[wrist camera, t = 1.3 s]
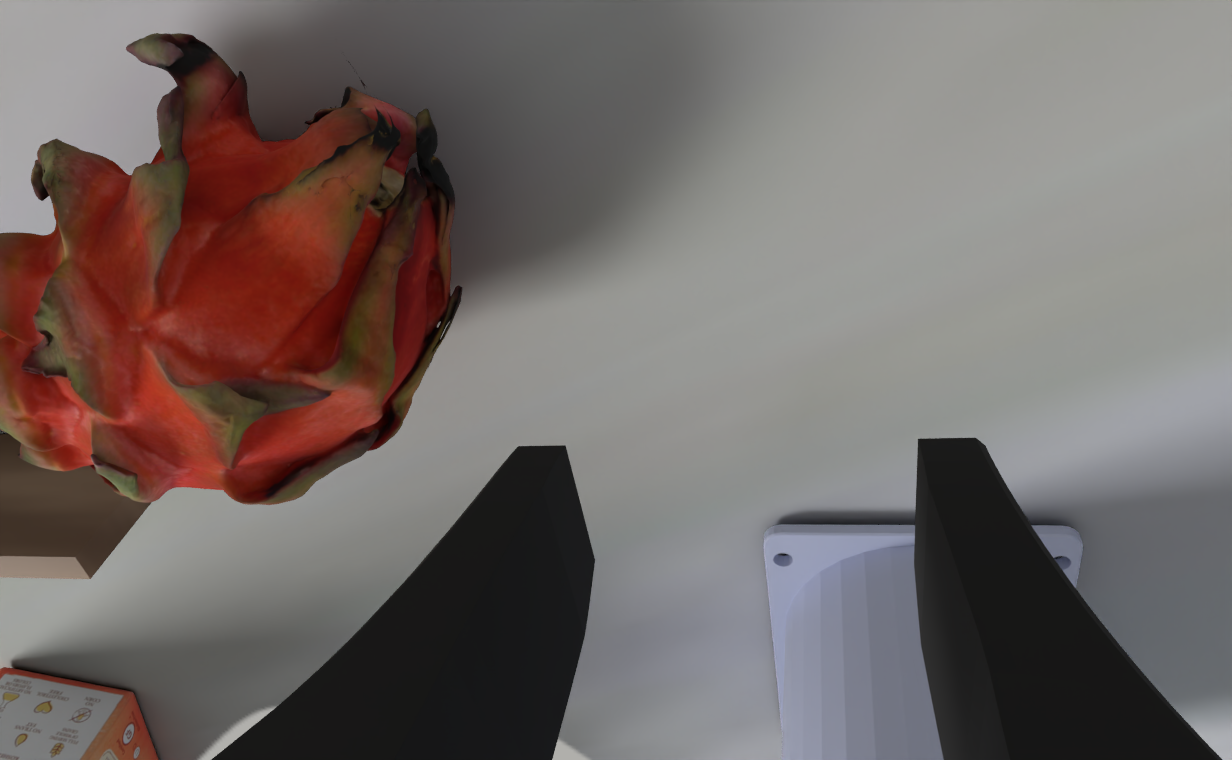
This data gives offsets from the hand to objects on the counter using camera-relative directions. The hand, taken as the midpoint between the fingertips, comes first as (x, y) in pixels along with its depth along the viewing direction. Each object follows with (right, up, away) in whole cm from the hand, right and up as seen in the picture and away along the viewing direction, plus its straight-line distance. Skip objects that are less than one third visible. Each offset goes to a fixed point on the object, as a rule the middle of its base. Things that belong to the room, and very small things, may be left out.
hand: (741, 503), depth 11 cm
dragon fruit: (-9, +6, +11) cm, 15 cm away
